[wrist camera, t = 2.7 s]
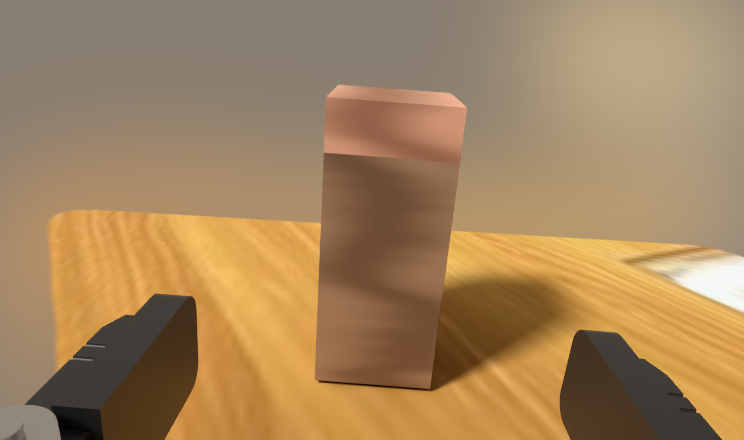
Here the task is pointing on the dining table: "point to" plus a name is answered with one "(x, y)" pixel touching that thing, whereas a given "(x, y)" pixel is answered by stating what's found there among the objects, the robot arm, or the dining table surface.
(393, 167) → the walnut block
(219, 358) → the dining table surface
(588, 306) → the dining table surface
